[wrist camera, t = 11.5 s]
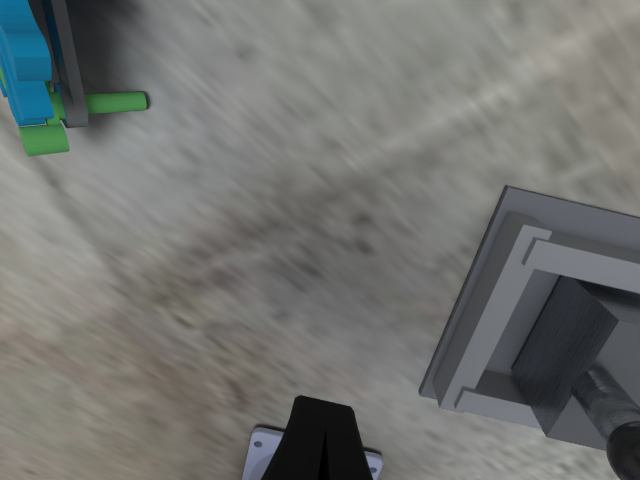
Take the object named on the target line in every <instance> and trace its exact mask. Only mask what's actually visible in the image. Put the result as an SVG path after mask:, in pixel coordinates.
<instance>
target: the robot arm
mask: <svg viewBox="0 0 640 480" xmlns="http://www.w3.org/2000/svg"><path fill="white" fill-rule="evenodd" d="M258 441H259V442H258ZM382 467H383V458H382V456H381V455H379V454H377V453H372V452H368V451H364V448H363V445H362V441H361V438H360V434H359V430H358V427H357V422H356V418H355V414H354V411H353V409H352V408H351V407H350V406H346V405H341V404H337V403H333V402H328V401H324V400H320V399H315V398H311V397H306V396H302V395H300V396H298V397H296V398H295V400H294V404H293V407H292V411H291V415H290V419H289V421H288V424H287V427H286V429H285V431H284V432H280V431H275V430H271V429H267V428H262V427H258V428H255V429H254V430H253V432H252V435H251V440H250V444H249V449H248V454H247V458H246V463H245V468H244V472H243V477H242V480H377V479H378V476H379V474H380V472H381V469H382Z"/></svg>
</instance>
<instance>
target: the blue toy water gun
mask: <svg viewBox="0 0 640 480" xmlns="http://www.w3.org/2000/svg"><path fill="white" fill-rule="evenodd" d="M42 4H43V9H44V13H45V18H46V22H47V27H48V31H49V35H50V40H51V44H52V49H53V53H54V57H55V62H56V66H57V71H58V75H59V80H60V83H54V92H51V90H50V86H49V81H51V78H52V69H51V57H50V53H49V50H48V47H47V44H46V41H45V39H44V36H43V34H42V33H41V31H40V29H39V27H38V25H37V23H36V21H35V19H34V16H33V14H32V11H31V8H30V6H29V3H28V0H0V88H1V90H2V93H3V96H4V97H8V101H9V104H10V108H11V111H12V113H13V116H14V118H15V120H16V122H17V124H18V126H27V127H19V132H20V136H21V139H22V143H23V146H24V148H25V151H26V154H27V156H36V155H44V154H52V153H60V152H68V151H69V144H68V140H67V136H66V133H65V130H64V128H63V126H62V124H61V122H60V120H62V121H63V123H64V125H65V127H66V128H74V127H85V126H88V114H97V113H111V112H124V111H137V110H146V108H147V103H146V98H145V95H144V93H143V92H124V93H103V94H84V92H83V87H82V82H81V77H80V72H79V67H78V62H77V57H76V52H75V47H74V42H73V37H72V32H71V27H70V22H69V17H68V12H67V7H66V2H65V0H42ZM45 121H46V124H47V125H40V124H45ZM28 125H39V126H28Z"/></svg>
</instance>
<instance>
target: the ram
mask: <svg viewBox="0 0 640 480" xmlns="http://www.w3.org/2000/svg"><path fill="white" fill-rule="evenodd" d="M511 372H512V374H513V376H514V378H515V380H516V382H517V383H518V385H519V387H520V389H521V391H522V393H523V395H524V396H525V398H526V400H527V402H528V404H529V406H530V408H531V409H532V411H533V413H534V415H535V417H536V419H537V421H538V422H539V424H540V426H541V428H542V430H543V432H544V434H545V435H546V437H548V438H553V439H557V440H561V441H566V442H570V443H574V444H579V445H583V446H587V447H592V448H596V449H600V450H605V451H606V453H607V458H608V461H609V463H610V466H611V467H612V469H613V471H614V472H615V474H616V475H617V476H618V477H619V478H620V480H640V294H638V293H635V292H631V291H627V290H623V289H618V288H614V287H610V286H606V285H602V284H597V283H593V282H589V281H585V280H581V279H576V278H572V277H568V276H564V275H562V277H561V279H560V280H559V282H558V284H557V286H556V288H555V290H554V292H553V294H552V296H551V297H550V299H549V301H548V303H547V305H546V307H545V309H544V311H543V313H542V314H541V316H540V318H539V320H538V322H537V324H536V326H535V328H534V330H533V331H532V333H531V335H530V337H529V339H528V341H527V343H526V345H525V347H524V348H523V350H522V352H521V354H520V356H519V358H518V360H517V362H516V364H515V365H514V367H513V369H512V371H511Z"/></svg>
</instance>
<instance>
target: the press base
mask: <svg viewBox="0 0 640 480" xmlns="http://www.w3.org/2000/svg"><path fill="white" fill-rule="evenodd" d="M562 275H564V276H568V277H572V278H576V279H581V280H585V281H589V282H593V283H597V284H602V285H606V286H610V287H614V288H618V289H623V290H627V291H631V292H635V293H638V294H640V218H639V217H634V216H630V215H626V214H622V213H618V212H614V211H610V210H605V209H601V208H597V207H593V206H589V205H585V204H581V203H576V202H572V201H568V200H564V199H560V198H556V197H551V196H547V195H543V194H539V193H535V192H531V191H527V190H522V189H518V188H514V187H510V186H506V187H505V189H504V191H503V194H502V196H501V198H500V201H499V203H498V206H497V208H496V210H495V213H494V215H493V217H492V220H491V222H490V224H489V227H488V229H487V232H486V234H485V236H484V239H483V241H482V243H481V246H480V248H479V251H478V253H477V255H476V258H475V260H474V262H473V265H472V267H471V269H470V272H469V274H468V277H467V279H466V281H465V284H464V286H463V288H462V291H461V293H460V296H459V298H458V300H457V303H456V305H455V307H454V310H453V312H452V314H451V317H450V319H449V322H448V324H447V326H446V329H445V331H444V333H443V336H442V338H441V341H440V343H439V345H438V348H437V350H436V352H435V355H434V357H433V359H432V362H431V364H430V367H429V369H428V371H427V374H426V376H425V378H424V381H423V383H422V385H421V388H420V390H419V394H420V396H424V397H428V398H432V399H437V401H438V404H439V408H442V409H447V410H451V411H455V412H460V413H463V412H464V411H465V412H469V413H473V414H478V415H482V416H487V417H491V418H495V419H500V420H504V421H508V422H513V423H517V424H521V425H526V426H530V427H534V428H539V429H542V428H541V426H540V424H539V422H538V421H537V419H536V417H535V415H534V413H533V411H532V409H531V408H530V406H529V404H528V402H527V400H526V398H525V396H524V395H523V393H522V391H521V389H520V387H519V385H518V383H517V382H516V380H515V378H514V376H513V374H512V372H511V371H512V369H513V367H514V365H515V364H516V362H517V360H518V358H519V356H520V354H521V352H522V350H523V348H524V347H525V345H526V343H527V341H528V339H529V337H530V335H531V333H532V331H533V330H534V328H535V326H536V324H537V322H538V320H539V318H540V316H541V314H542V313H543V311H544V309H545V307H546V305H547V303H548V301H549V299H550V297H551V296H552V294H553V292H554V290H555V288H556V286H557V284H558V282H559V280H560V279H561V277H562Z"/></svg>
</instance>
